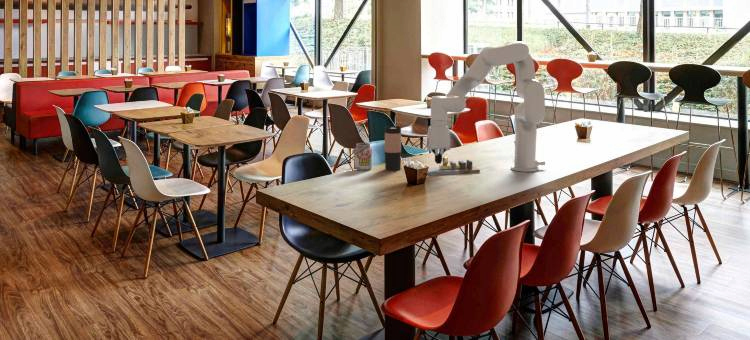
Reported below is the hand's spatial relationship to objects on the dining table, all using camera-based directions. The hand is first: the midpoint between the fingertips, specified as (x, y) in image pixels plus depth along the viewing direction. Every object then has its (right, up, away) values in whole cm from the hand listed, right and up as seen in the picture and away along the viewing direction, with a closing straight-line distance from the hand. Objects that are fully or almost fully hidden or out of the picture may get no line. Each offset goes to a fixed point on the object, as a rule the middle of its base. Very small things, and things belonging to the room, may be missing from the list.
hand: (438, 163), depth 312 cm
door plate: (+1, -4, +1) cm, 5 cm away
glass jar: (-35, -3, +10) cm, 37 cm away
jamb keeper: (+13, -4, +3) cm, 14 cm away
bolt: (+7, -2, +2) cm, 7 cm away
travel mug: (-21, -3, +9) cm, 23 cm away
